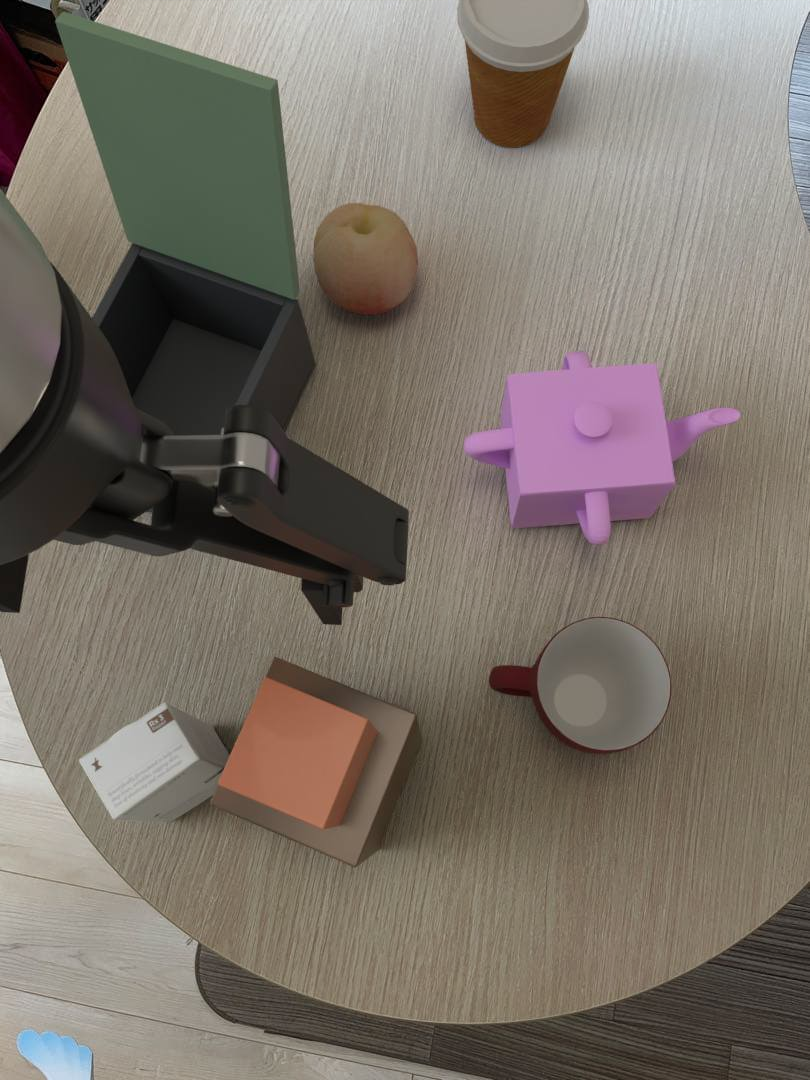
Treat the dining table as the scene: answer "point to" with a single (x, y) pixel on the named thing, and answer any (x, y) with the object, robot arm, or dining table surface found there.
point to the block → (299, 755)
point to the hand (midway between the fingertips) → (174, 587)
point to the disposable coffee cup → (518, 62)
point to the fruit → (365, 258)
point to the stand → (374, 785)
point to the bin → (202, 343)
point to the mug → (594, 685)
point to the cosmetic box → (157, 766)
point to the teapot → (588, 444)
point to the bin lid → (188, 152)
